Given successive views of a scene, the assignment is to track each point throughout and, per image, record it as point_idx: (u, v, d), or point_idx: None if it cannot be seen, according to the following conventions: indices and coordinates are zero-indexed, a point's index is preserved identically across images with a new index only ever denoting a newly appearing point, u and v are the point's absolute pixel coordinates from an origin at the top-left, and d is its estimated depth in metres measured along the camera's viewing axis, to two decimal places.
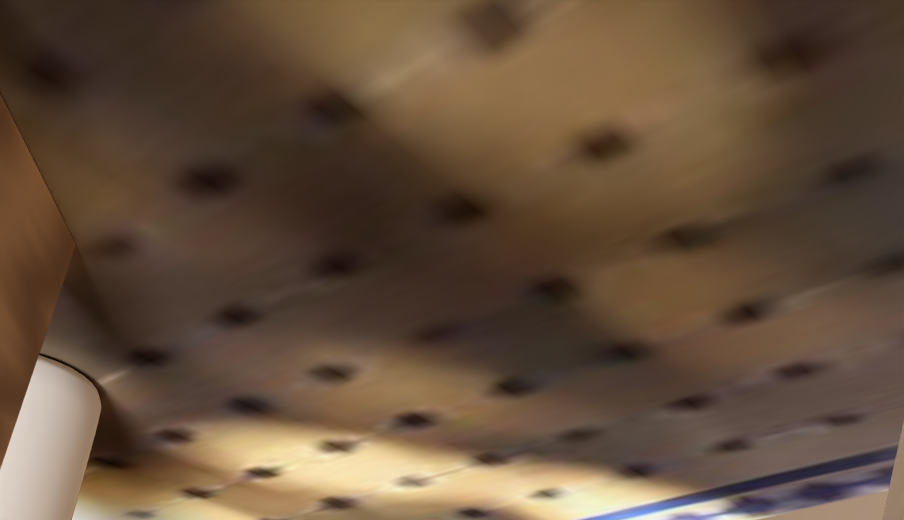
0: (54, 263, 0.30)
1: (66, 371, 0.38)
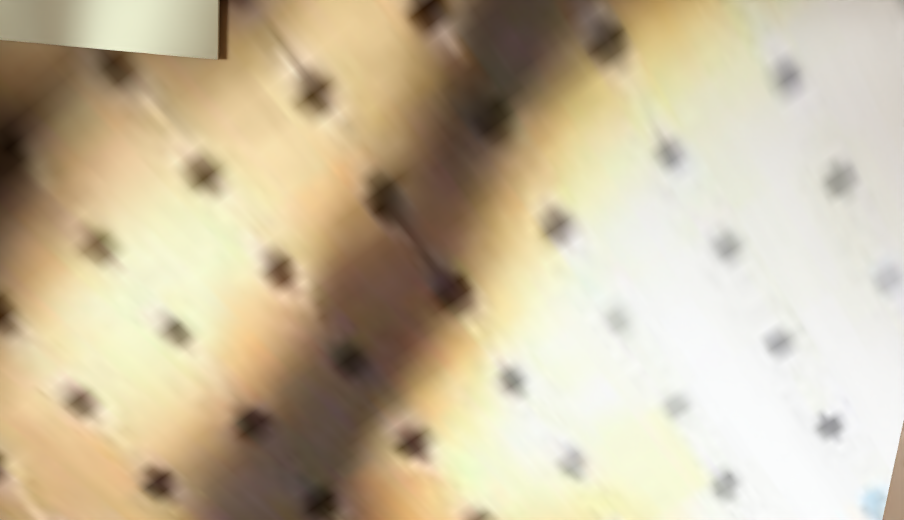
0: None
1: None
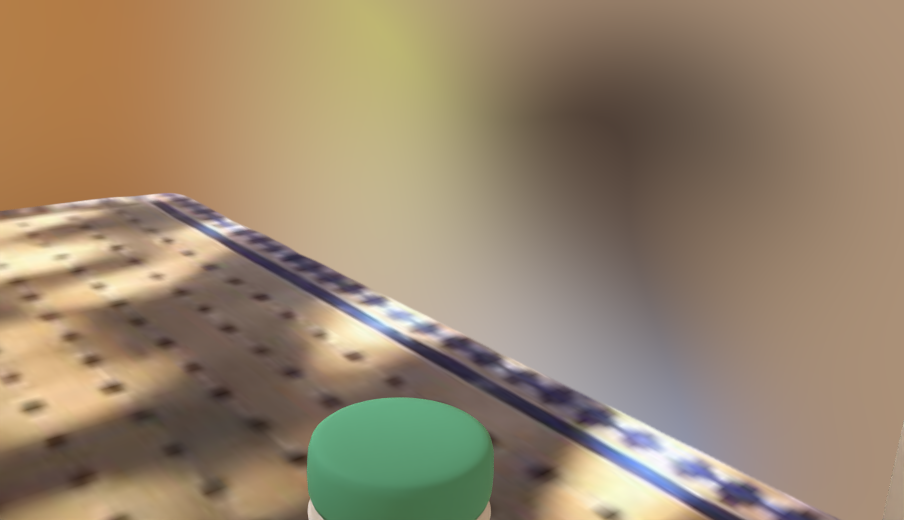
0: None
1: None
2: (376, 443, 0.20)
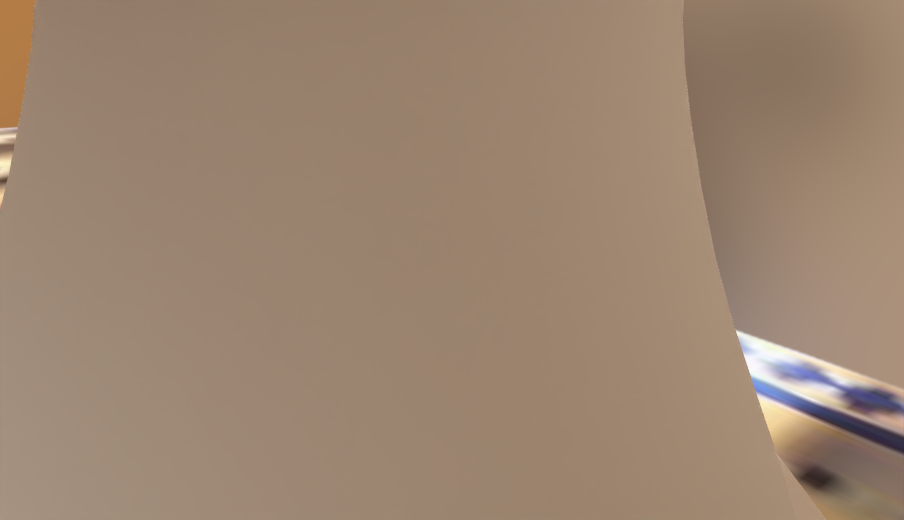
0: None
1: None
2: None
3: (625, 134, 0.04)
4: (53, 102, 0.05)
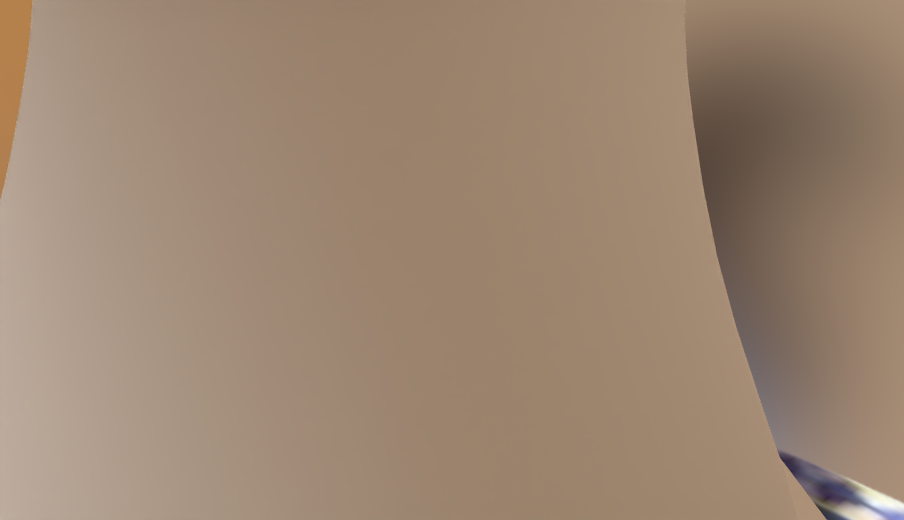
0: None
1: None
2: None
3: (627, 134, 0.04)
4: (51, 102, 0.04)
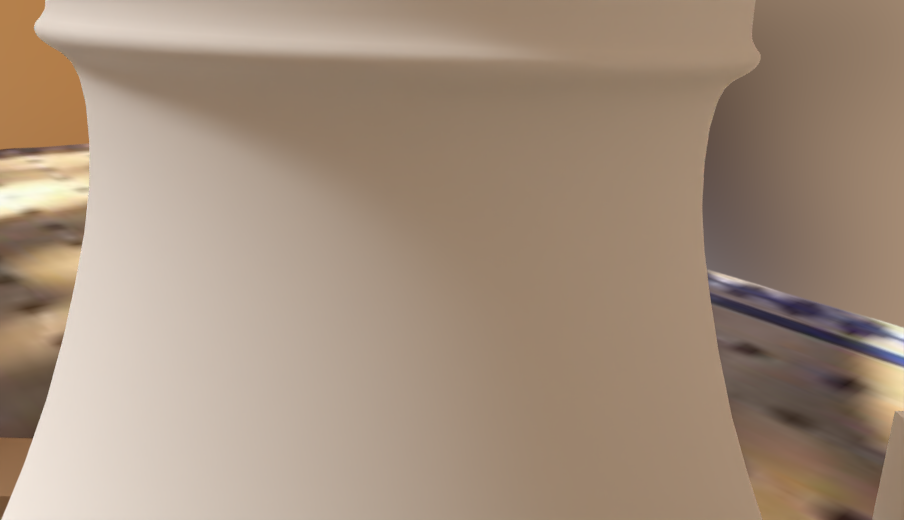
0: None
1: None
2: None
3: (649, 342, 0.05)
4: (110, 308, 0.05)
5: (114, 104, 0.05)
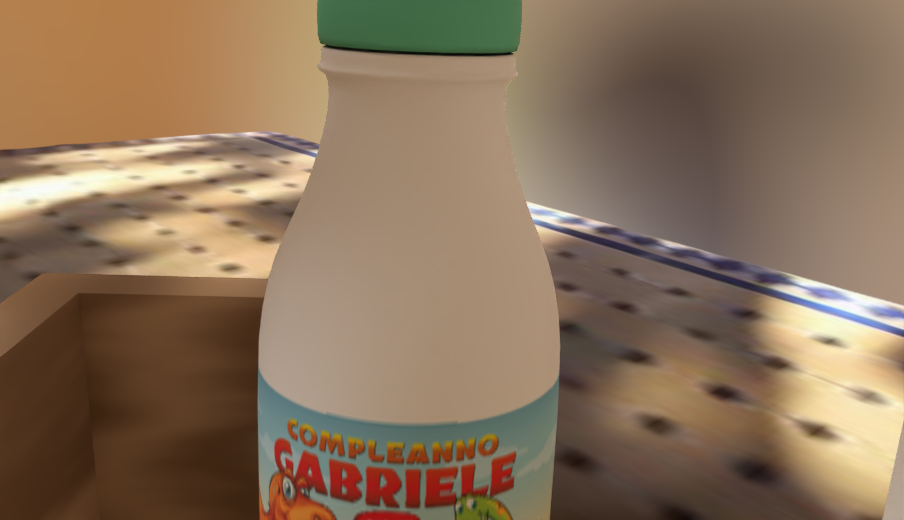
0: None
1: None
2: None
3: (481, 148, 0.19)
4: (343, 140, 0.19)
5: (347, 88, 0.18)
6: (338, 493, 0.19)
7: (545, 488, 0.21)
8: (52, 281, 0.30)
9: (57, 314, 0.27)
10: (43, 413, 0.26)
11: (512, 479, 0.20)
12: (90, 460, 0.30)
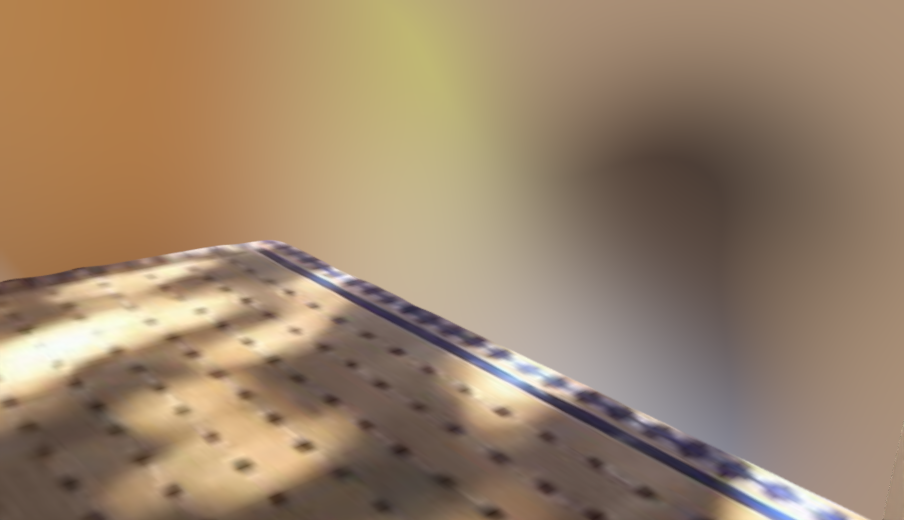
0: None
1: None
2: None
3: None
4: None
5: None
6: None
7: None
8: None
9: None
10: None
11: None
12: None
